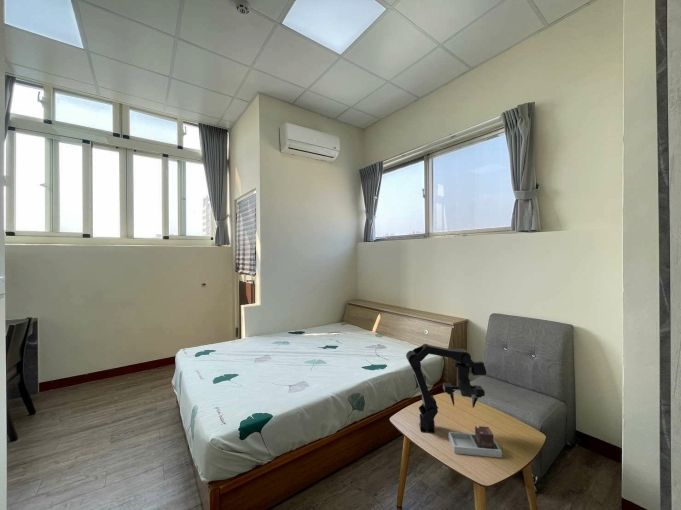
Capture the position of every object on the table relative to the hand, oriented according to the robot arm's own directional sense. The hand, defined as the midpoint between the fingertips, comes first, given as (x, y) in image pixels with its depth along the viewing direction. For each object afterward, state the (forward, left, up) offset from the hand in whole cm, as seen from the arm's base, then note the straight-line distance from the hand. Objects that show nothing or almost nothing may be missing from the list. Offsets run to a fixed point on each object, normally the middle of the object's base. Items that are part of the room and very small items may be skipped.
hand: (463, 406), depth 136 cm
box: (+5, -13, -11) cm, 18 cm away
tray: (+1, -13, -12) cm, 17 cm away
